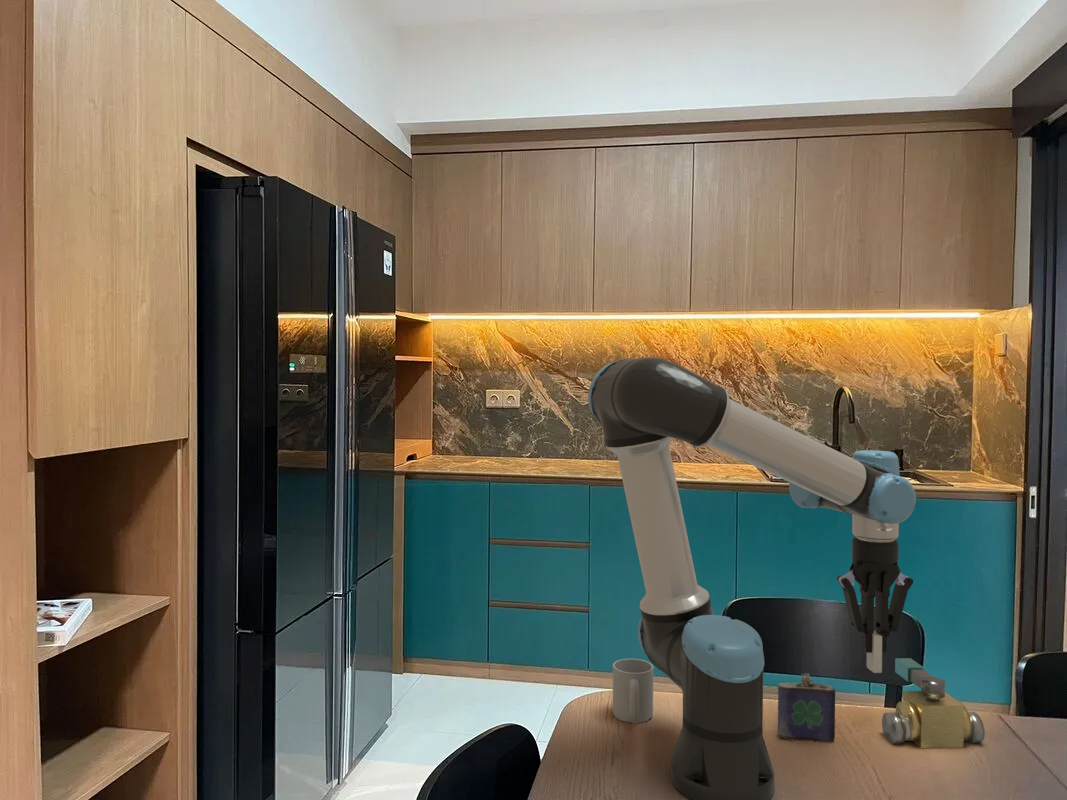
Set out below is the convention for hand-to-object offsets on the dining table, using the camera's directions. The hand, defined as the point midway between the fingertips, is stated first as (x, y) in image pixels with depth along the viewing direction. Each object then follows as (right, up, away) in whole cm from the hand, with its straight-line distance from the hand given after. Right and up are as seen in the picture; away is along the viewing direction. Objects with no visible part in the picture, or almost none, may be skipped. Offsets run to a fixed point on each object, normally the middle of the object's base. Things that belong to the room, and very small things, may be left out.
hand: (874, 669), depth 135 cm
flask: (-15, -9, -7) cm, 19 cm away
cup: (-43, -9, 0) cm, 44 cm away
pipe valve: (+6, -9, -8) cm, 13 cm away
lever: (+6, -1, -4) cm, 7 cm away
